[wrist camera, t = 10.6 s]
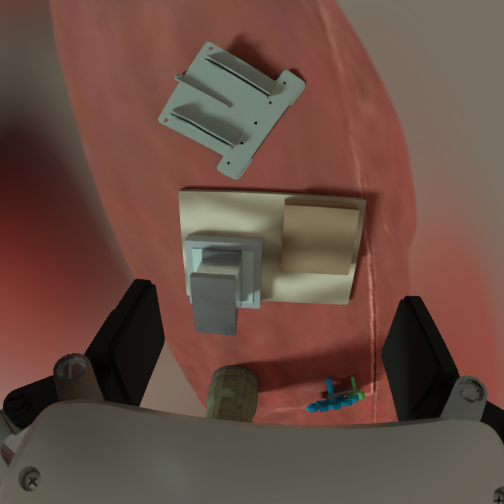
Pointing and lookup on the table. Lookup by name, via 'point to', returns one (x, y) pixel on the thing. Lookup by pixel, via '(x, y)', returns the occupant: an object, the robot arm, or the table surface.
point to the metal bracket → (228, 106)
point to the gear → (340, 400)
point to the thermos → (232, 394)
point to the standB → (250, 261)
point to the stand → (318, 236)
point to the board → (266, 238)
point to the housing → (217, 291)
